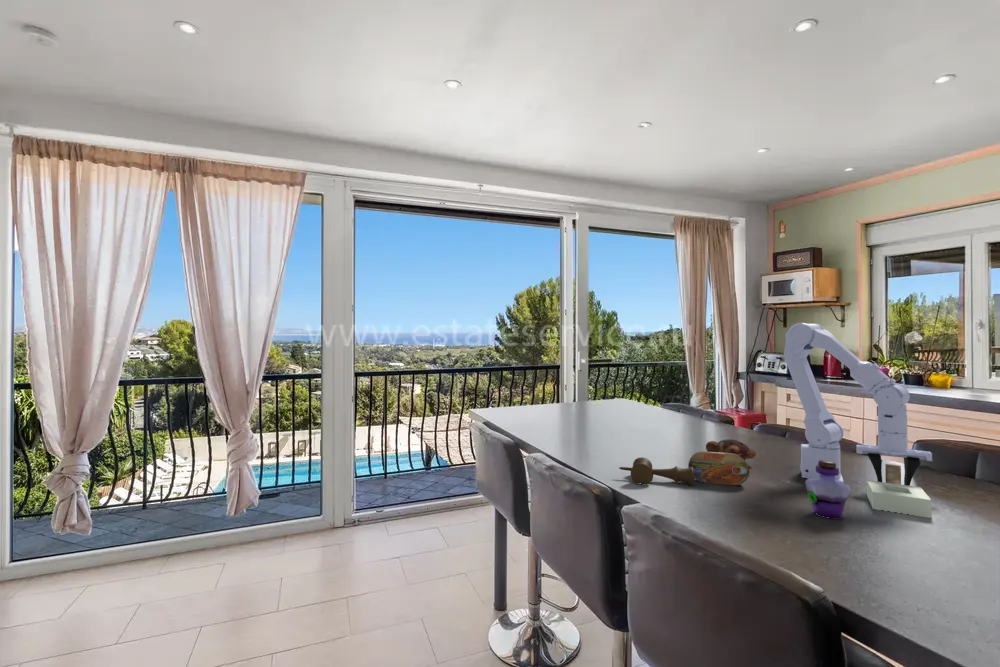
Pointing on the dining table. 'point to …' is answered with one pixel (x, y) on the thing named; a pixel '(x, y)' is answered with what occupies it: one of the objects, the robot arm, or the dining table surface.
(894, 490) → the socket block
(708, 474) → the tin
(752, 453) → the decorative turtle
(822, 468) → the potion bottle
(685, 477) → the kendama
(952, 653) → the dining table surface
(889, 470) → the peg
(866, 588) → the dining table surface
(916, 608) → the dining table surface
